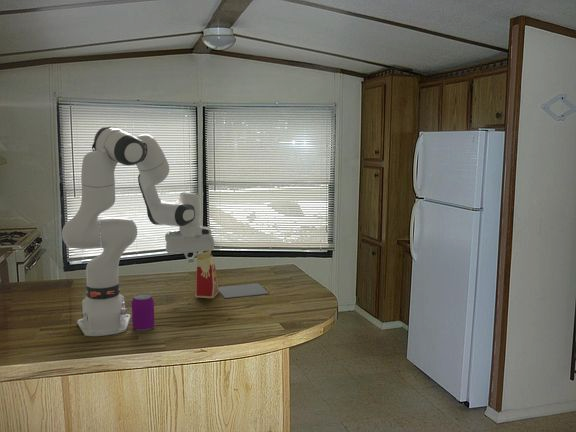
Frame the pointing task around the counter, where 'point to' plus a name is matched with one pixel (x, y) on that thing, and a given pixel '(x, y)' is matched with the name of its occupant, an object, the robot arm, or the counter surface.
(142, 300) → the beverage can
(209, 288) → the milk carton
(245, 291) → the mat
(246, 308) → the counter surface
